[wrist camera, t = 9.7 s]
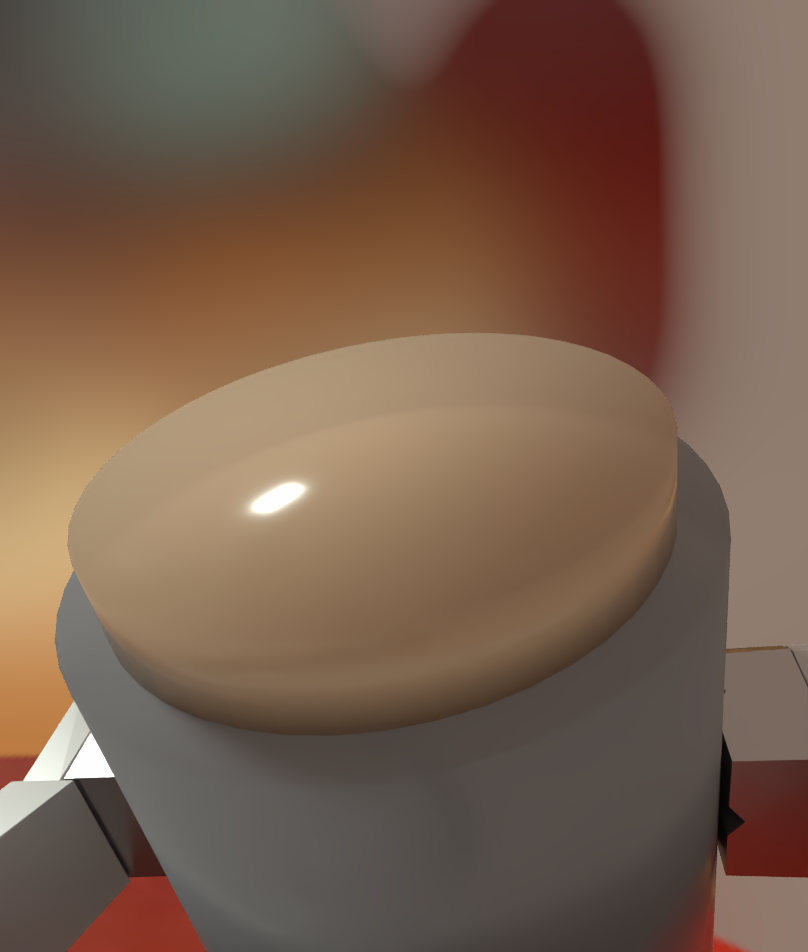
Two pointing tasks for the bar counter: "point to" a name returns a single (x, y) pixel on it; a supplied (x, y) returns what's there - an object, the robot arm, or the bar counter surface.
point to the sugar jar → (414, 652)
